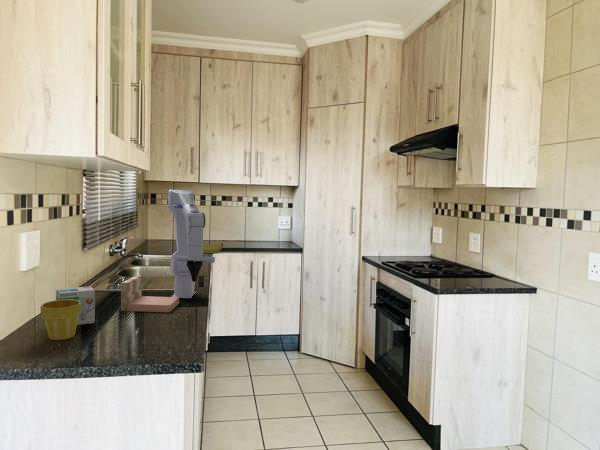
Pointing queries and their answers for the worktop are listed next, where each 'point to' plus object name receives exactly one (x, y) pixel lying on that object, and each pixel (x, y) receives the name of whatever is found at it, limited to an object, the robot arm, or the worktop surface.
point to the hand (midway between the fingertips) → (194, 281)
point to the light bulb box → (84, 296)
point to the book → (153, 304)
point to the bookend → (130, 290)
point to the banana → (212, 248)
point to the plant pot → (61, 318)
